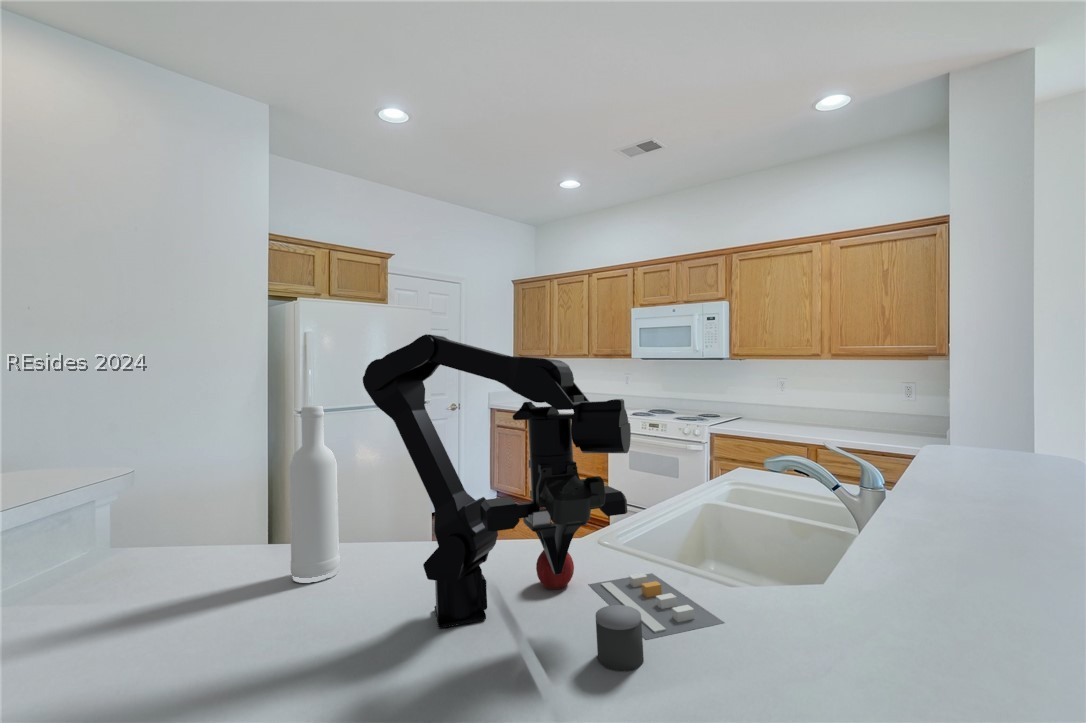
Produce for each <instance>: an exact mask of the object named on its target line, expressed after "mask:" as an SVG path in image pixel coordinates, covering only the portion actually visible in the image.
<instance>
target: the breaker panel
mask: <svg viewBox="0 0 1086 723" xmlns="http://www.w3.org/2000/svg"><path fill="white" fill-rule="evenodd" d="M654 581H657V582H658V583H660V584H661V589H662V595H657V596H652V597H646V596H644V595H643V594H642V584H643V583H649V582H654ZM587 585H588V586H589V587H590V588H591V589H592V590H593V591H594V592H595V593H596V594H597V595H599V597H600V598H601V599H602V600H604V602H605V603H606V604H608V606H610V605H625V606H629V607H632V608H635V609H637V610H638V611H639V612H640V613H641V622H642V639H644V640H645V641H647V640H654V639H657V638H661V637H662V638H663V637H666V636H671V635H672V636H673V635H675V634H680V633H684V632H690V631H694V630H699V629H704V628H707V627H708V628H709V627H714V626H718V625H721V624H726V622H725V621H723V620H722V619H720V618H719V617H717V616H716V615H715V614H713V613H711V612H710V611H709V610H707V609H705V608H704V607H703V606H702V605H700V604H699V603H697V602H696V601H694V600H692V599H691V598H690V597H688V596H686V595H685V594H683V592H682V591H679V590H678V589H676V588H675V587H674V586H671V585H670V584H669V583H667V582H665V581H664V580H663V579H662V578H660V577H659V576H657V575H655V574H654V573H643V572H642V573H637V574H636V573H635V574H631V575H628V577H622V578H617V579H611V580H605V581H600V582H599V581H598V582H594V583H588V584H587Z"/></svg>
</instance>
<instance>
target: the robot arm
mask: <svg viewBox="0 0 1086 723" xmlns="http://www.w3.org/2000/svg"><path fill="white" fill-rule="evenodd" d="M440 366H443V367H448V368H449V369H453V370H458V371H461V372H464V373H468V374H472V375H474V376H479V377H480V378H481V377H482V378H485V379H489V380H492V381H496V382H498V383H500V384H502V385H504V386H505V387H506V388H508V389H509V390H511V391H512V393H513V392H514V393H516V394H517V395H520V396H522V397H523V398H525V399H527V400H530V401H524V402H523V403H522V405H521V407H519V409H518V410H517V411H516V412H515V413H514V414H512V420H514V421H527V422H528V424H527V426H528V444H529V459H528V468H530V470H529V471H530V488H531V489H530V490H529V497H530V498H529V499H531V501H528V502H519V503H517V502H516V501H515V500H513V498H511V497H510V496H506V497H496V498H490V499H486V498H485V496H482V497H480V498H478V499H475V498H473V496H471V495H470V494H469V493H468V492H467V491H466V489H465V488H464V486H463V484H462V481H461V479H460V477H459V475H458V474H457V471H456V469H455V467H454V465H453V462H452V461H451V458H450V457H449V454H448V452H447V450H446V448H445V446H444V443H443V442H442V440H441V438H440V436H439V434H438V432H437V430H436V428H435V425H434V423H433V421H432V419H431V417H430V415H429V413H428V411H427V410H426V409H427V408H426V406H425V405H426V404H425V400H426V387H425V384H424V381H426V380H428V379H429V378H430V377H431V376H432V375H433V374H434V373H435V372H436V371H437V369H438V368H439V367H440ZM573 374H574V373H573V370H572V369H571V368H570V366H569V365H568V364H567V363H566V362H564V361H562V360H559V359H554V358H553V359H551V358H543V357H542V358H541V357H528V356H511V355H507V354H505V353H501V352H500V353H499V352H496V351H493V350H489V349H485V348H481V347H477V346H473V345H470V344H467V343H462V342H459V341H456V340H455V341H454V340H453V339H452V340H451V339H449V338H447V337H445V336H443V335H442V336H441V335H435V334H426V333H425V334H423V335H421V336H419V337H417V338H416V339H415V340H413V341H412V342H411V343H409V344H407V345H405V346H403V347H401V348H398V349H395V350H394V351H391V352H388V353H387V354H386V355H384V356H383V357H382V358H376V359H374V360H372V361H371V362H370V363H369V364H367V367H366V368H365V370H364V375H363V376H362V385H363V387H364V389H365V391H366V392H367V394H368V396H369V397H370V399H371V400H372V402H373V403H374V405H375V406H376V407H377V408H378V409H380V410H381V411H382V412H383V413H384V414H386V416H388V417H389V418H390V419H391V420H393V422H394V424H395V427H396V428H397V431H398V433H399V435H400V437H401V439H402V442H403V443H404V446H405V448H406V450H407V452H408V454H409V457H410V458H411V461H412V463H413V465H414V467H415V469H416V471H417V474H418V475H419V478H420V481H421V483H422V484H423V487H424V489H425V490H426V493H427V495H428V497H429V500H430V502H431V503H432V506H433V509H434V523H433V524H434V525H433V526H434V528H433V531H434V536H435V540H436V542H437V546H438V547H437V548H436V549H435V550H434V551H433V553H432V554H430V556H429V557H428V558H427V559H426V561H424V563H423V565H422V566H423V569H424V572H425V575H426V578H427V580H429V581H434V583H435V584H434V586H435V605H434V606H433V608H435V609H434V613H436V615H435V619H436V618H437V619H436V623H438V624H437V628H439V627H443V628H446V627H445V626H449V627H453V626H452V625H454V626H457V625H456V624H460V625H464V624H470V623H476V622H481V621H484V620H487V614H486V612H485V611H486V610H488V599H487V598H488V597H487V596H488V595H487V589H488V588H487V579H486V577H485V575H484V574H483V570H482V568H481V566H480V565H482V564H483V563H486V562H487V560H488V557H489V553H490V552H491V551H492V550H493V549H494V547H495V545H496V543H497V539H498V537H499V534H498V533H499V532H500V531H505V530H513V529H515V528H516V526H517V525H518V524H519V523H520V520H521V519H522V520H523V521H522V522H523V523H524V525H525V526H527V527H528V528H529V529H530V530H531V531H532V532H533V533H535V534H536V535H537V537H538V540H539V541H540V543H541V546H542V548H543V550H544V551H545V553H546V556H547V558H548V561H549V563H550V566H551V568H552V571H553V573H554V574H555V575H559V574H561V573H562V570H563V566H564V563H565V559H566V556H567V552H568V553H569V550H570V547H571V546H570V545H571V543H572V540H573V539H574V536H575V533H576V532H577V531H578V530H579V528H581V527H583V526H586V525H587V523H588V521H590V520H591V514H592V513H591V511H592V510H598V509H599V511H600V512H602V514H604V515H605V516H607V517H612V516H618V515H619V516H621V515H626V514H628V502H627V500H628V499H627V498H626V496H625V494H624V493H623V491H621V490H619V489H616V488H614V487H612V486H608V485H605V481H604V479H603V478H602V477H601V476H590V477H589V476H588V477H586V478H584V479H583V478H580V475H579V473H578V466H577V461H574V453H573V452H574V451H573V449H574V448H573V444H574V446H575V448H579V450H580V451H581V452H582V453H583V454H628V453H629V451H630V447H631V438H632V437H631V434H632V433H631V423H630V422H629V417H628V413H627V410H626V408H625V399H623V398H615V399H608V400H602V401H590V400H589V398H588V397H586V395H585V394H584V392H582V390H581V389H580V387H579V386H578V385H577V384H576V383H575V381H574V380H575V378H574V375H573ZM533 402H534V403H540V404H542V403H546V404H548V405H549V406H536V405H534V403H533ZM562 410H563V411H566V410H567V411H568V410H572V411H573V413H560V412H559V411H562Z"/></svg>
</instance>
